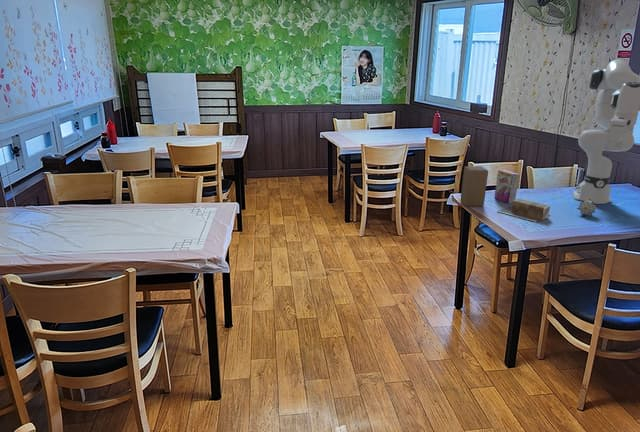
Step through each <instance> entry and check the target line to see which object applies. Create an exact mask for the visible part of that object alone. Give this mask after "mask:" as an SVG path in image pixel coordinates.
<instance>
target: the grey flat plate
mask: <svg viewBox="0 0 640 432" xmlns="http://www.w3.org/2000/svg"><path fill="white" fill-rule="evenodd" d="M511 210H512V204H511V205H509V206H507V207H504V208H502V209H499V210H496V213H498V214H499V213H500V214H503V215H505V216H510V217H513V218H517V219H521V220H525V221H529V222H533V223H538V222H540V221H542V220H541V219H537V218H533V217H529V216H526V215H522V214H518V213H514V212H511ZM549 216H551V214H550V213H549V214H548V217H549ZM539 220H540V221H539Z"/></svg>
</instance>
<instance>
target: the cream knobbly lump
mask: <svg viewBox="0 0 640 432" xmlns="http://www.w3.org/2000/svg"><path fill="white" fill-rule="evenodd" d="M590 200H591V199H589V200H588V201H583V200H582V201H581V202H579V206H578V207H577V208H576V210H578V211H579V212H580V214H582V215H583V217H586V216H587V215H591V216H593V213H596V211H595V210H596V208H598V207H599V206H598V205H596V204H594V202H593V203H592V202H591V201H590Z"/></svg>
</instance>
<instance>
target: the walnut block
mask: <svg viewBox="0 0 640 432" xmlns="http://www.w3.org/2000/svg"><path fill="white" fill-rule="evenodd" d="M511 205H512V210H511V212H514V213H518V214H522V215H526V216H529V217H533V218H537V219H541V220H540V221H544V220H546V219H547V218H549V216H548V214H550V208H551V205H548V204H543V203H540V202H536V201H531V200H528V199H523V198H515V200H513V203H511Z"/></svg>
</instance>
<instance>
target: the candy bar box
mask: <svg viewBox="0 0 640 432" xmlns="http://www.w3.org/2000/svg"><path fill="white" fill-rule="evenodd" d="M496 176H497V177H496V182H495V183H496V184H495V185H496V186H495V190H494V191H495V193H494V197H493V198H494V199H497V200H499V201H501V202H503V203H506V204H513V200H516V199H517V198H516V197H517V191H518V185H519V178H520V174H519V173H516V172H513V171H511V170H509V169H508V170H507V169H499V170H498V171H497V175H496Z"/></svg>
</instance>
